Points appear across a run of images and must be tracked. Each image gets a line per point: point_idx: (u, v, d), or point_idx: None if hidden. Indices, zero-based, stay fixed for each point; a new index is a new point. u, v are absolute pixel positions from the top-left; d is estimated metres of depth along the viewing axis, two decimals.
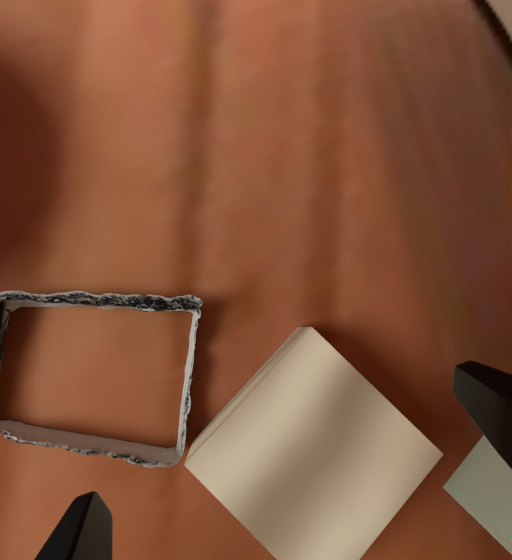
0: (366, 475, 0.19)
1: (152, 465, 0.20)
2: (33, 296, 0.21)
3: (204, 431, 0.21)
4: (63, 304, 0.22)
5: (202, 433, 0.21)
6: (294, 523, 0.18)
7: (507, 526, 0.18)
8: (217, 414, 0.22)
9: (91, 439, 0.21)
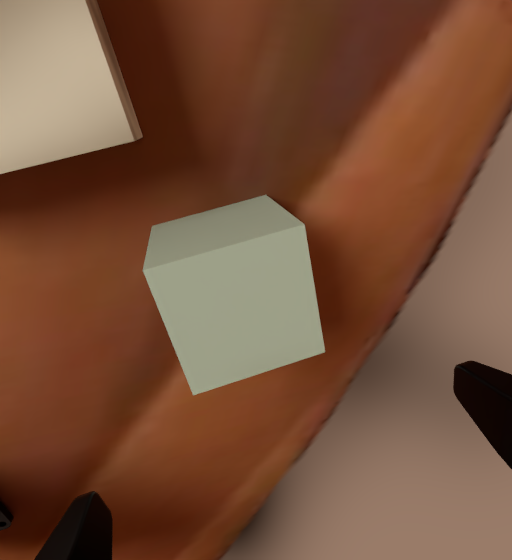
0: None
1: None
2: None
3: None
4: None
5: None
6: None
7: (156, 259, 0.13)
8: None
9: None
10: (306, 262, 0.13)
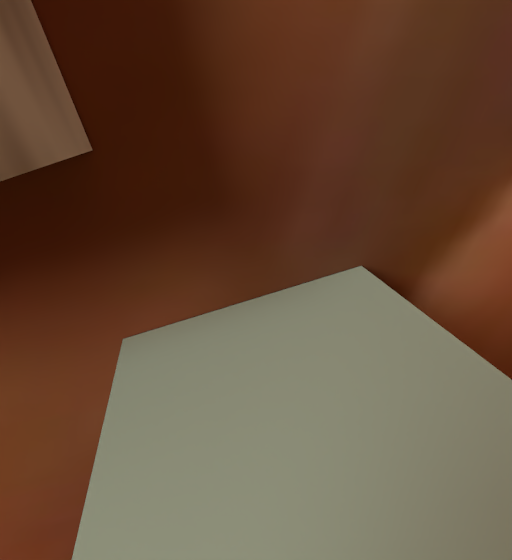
0: None
1: None
2: None
3: None
4: None
5: None
6: None
7: None
8: None
9: None
10: None
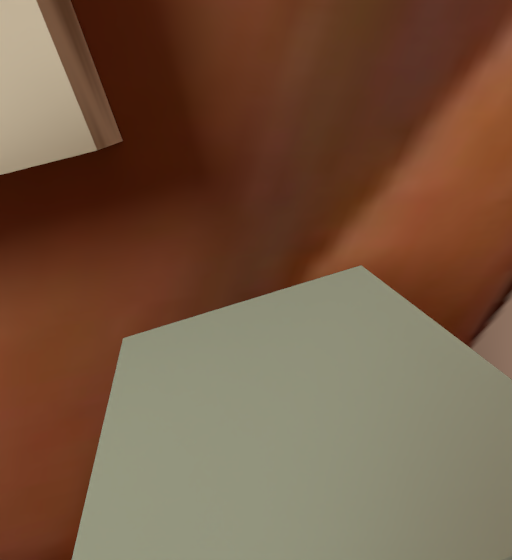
0: None
1: None
2: None
3: None
4: None
5: None
6: None
7: None
8: None
9: None
10: None
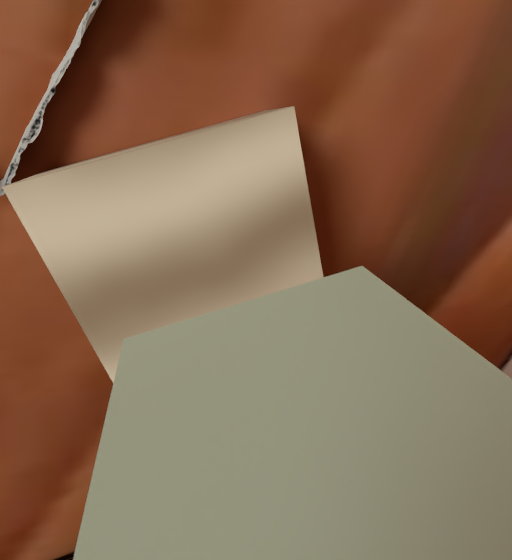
0: None
1: None
2: None
3: (63, 167, 0.14)
4: None
5: (58, 168, 0.14)
6: (134, 326, 0.14)
7: None
8: None
9: None
10: None
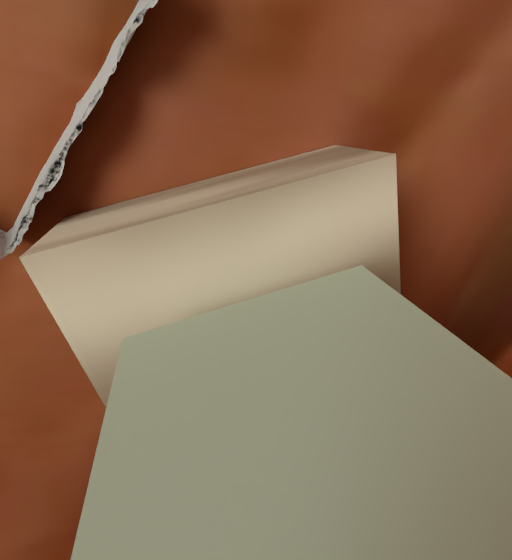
0: None
1: None
2: None
3: (91, 215, 0.11)
4: None
5: (86, 216, 0.11)
6: None
7: None
8: (127, 201, 0.12)
9: None
10: None
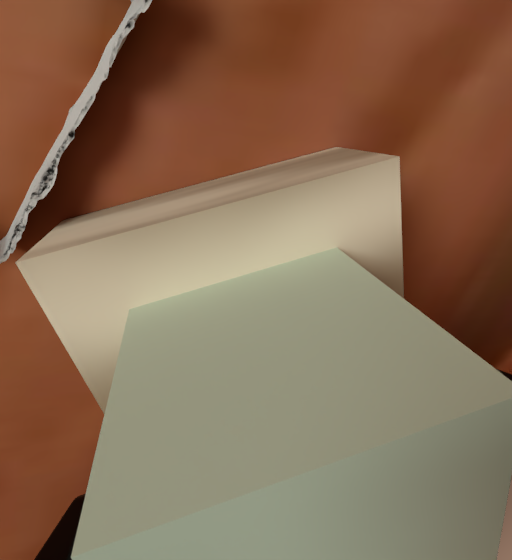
0: None
1: None
2: None
3: (89, 219, 0.11)
4: None
5: (84, 220, 0.11)
6: None
7: (118, 482, 0.05)
8: (126, 203, 0.12)
9: None
10: (504, 467, 0.05)
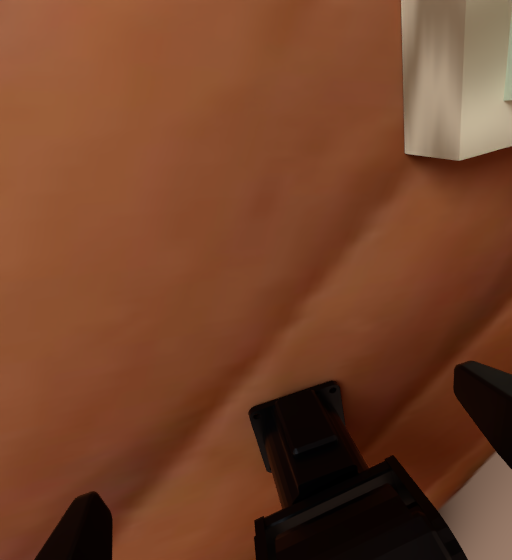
0: None
1: None
2: None
3: None
4: None
5: None
6: (505, 52, 0.14)
7: None
8: None
9: None
10: None
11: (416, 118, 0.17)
